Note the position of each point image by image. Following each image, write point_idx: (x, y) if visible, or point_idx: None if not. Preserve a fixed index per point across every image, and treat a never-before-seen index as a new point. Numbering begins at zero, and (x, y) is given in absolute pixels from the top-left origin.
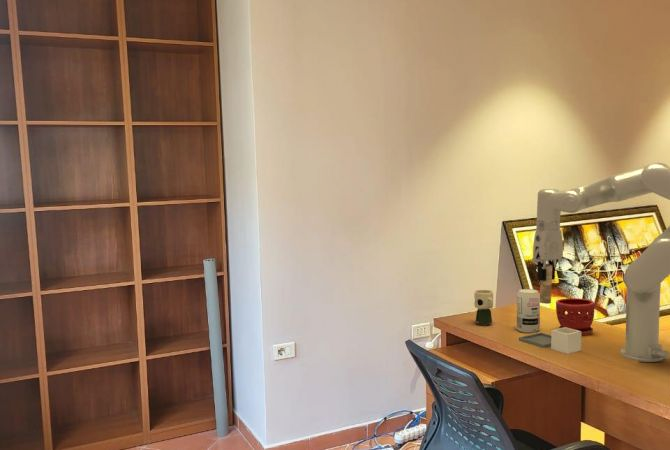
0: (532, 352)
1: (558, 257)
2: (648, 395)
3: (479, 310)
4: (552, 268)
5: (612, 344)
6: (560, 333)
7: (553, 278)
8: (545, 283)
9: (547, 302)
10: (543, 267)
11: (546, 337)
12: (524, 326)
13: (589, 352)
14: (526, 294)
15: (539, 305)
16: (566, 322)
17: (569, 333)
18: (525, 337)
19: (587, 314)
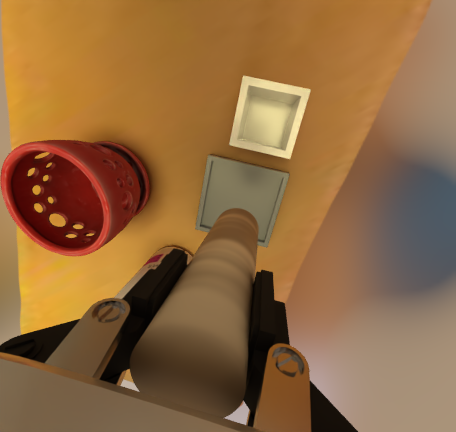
0: (326, 180)
1: (5, 382)
2: None
3: None
4: (153, 309)
5: (131, 62)
6: (300, 121)
7: (182, 253)
8: (253, 263)
9: (249, 214)
10: (295, 367)
11: (209, 207)
12: None
13: (235, 70)
14: None
15: (135, 280)
16: (138, 192)
17: (293, 92)
18: None
19: (86, 145)
